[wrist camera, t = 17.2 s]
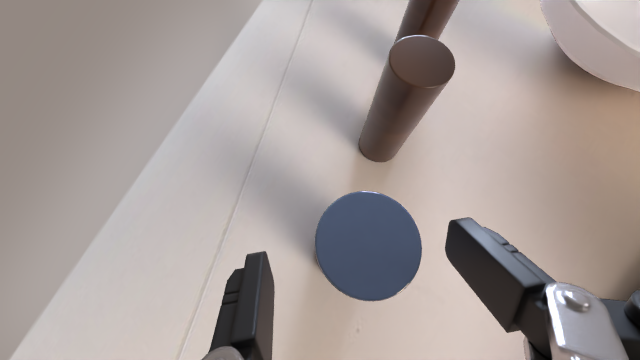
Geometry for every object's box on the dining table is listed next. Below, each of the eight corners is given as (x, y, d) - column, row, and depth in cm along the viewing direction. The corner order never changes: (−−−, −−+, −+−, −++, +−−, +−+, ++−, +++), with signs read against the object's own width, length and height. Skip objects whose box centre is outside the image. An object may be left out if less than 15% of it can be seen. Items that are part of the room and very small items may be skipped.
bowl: (763, 103, 22) (929, 44, 16) (579, 170, 20) (693, 130, 14) (613, -40, 28) (694, -122, 22) (458, 0, 26) (501, -81, 20)
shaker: (307, 269, 17) (297, 275, 9) (326, 216, 19) (335, 176, 10) (361, 291, 17) (407, 320, 8) (378, 235, 18) (433, 211, 10)
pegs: (353, 154, 20) (380, 75, 12) (393, 45, 24) (436, -77, 15) (391, 167, 20) (448, 96, 11) (426, 54, 24) (489, -64, 15)
